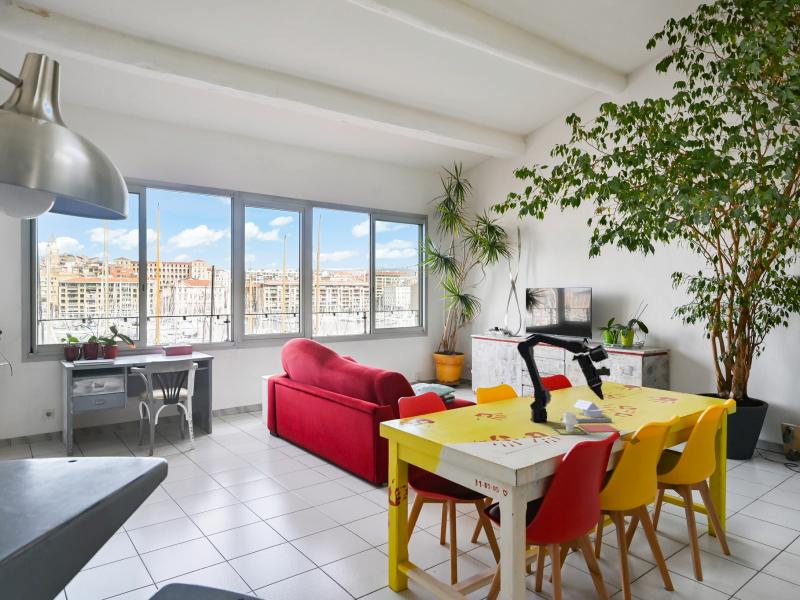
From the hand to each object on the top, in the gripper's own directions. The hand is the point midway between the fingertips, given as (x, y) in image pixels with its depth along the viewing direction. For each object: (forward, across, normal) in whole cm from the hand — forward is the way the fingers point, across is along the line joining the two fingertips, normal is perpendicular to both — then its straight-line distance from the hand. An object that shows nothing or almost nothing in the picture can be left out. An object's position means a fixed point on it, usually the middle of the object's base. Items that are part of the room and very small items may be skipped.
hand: (602, 398), depth 236 cm
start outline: (+8, -6, +19) cm, 21 cm away
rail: (+8, +14, +12) cm, 20 cm away
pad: (+12, +4, +7) cm, 14 cm away
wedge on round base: (+8, +31, +9) cm, 33 cm away
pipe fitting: (+8, -6, +19) cm, 21 cm away
